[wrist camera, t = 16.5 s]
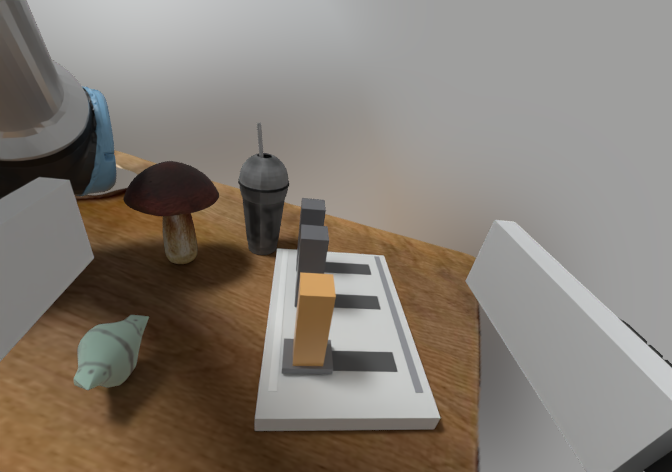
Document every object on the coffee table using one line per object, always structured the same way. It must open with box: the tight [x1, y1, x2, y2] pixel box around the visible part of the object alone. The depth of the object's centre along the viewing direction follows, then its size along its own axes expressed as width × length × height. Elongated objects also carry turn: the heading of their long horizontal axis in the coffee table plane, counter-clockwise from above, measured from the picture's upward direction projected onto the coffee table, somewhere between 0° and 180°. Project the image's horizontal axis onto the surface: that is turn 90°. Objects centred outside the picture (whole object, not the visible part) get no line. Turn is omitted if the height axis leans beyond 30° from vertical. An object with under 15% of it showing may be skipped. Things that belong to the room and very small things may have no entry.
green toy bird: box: [74, 315, 149, 390], centre depth 29 cm, size 8×4×7 cm, turn 174°
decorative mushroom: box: [124, 161, 219, 264], centre depth 43 cm, size 11×11×15 cm
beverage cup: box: [238, 123, 289, 255], centre depth 48 cm, size 7×7×20 cm
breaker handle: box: [282, 272, 336, 374], centre depth 31 cm, size 5×4×10 cm
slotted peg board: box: [255, 198, 440, 431], centre depth 38 cm, size 17×26×12 cm, turn 4°
